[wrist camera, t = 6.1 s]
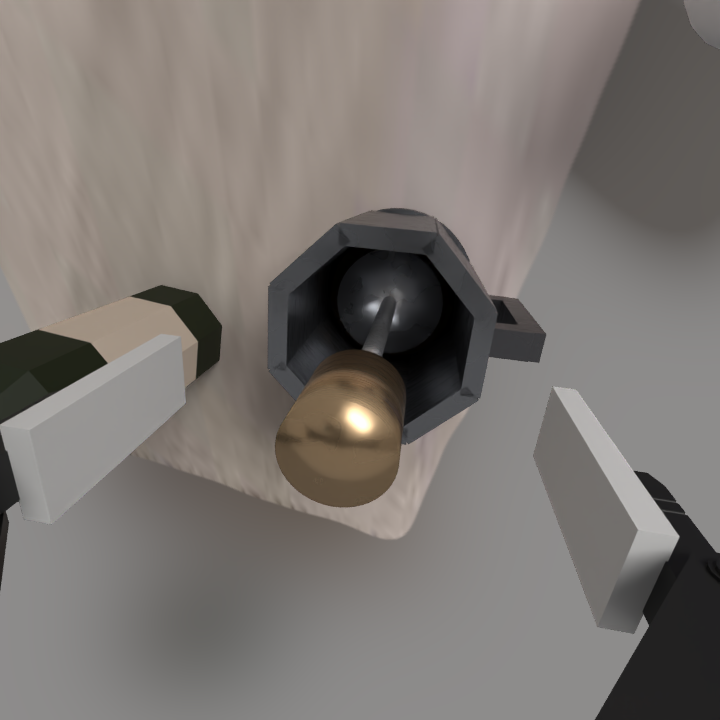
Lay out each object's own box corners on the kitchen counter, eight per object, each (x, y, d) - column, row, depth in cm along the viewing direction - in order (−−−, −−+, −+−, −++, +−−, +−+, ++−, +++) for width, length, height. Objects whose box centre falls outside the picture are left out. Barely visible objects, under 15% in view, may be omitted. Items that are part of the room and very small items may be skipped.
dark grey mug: (324, 200, 32) (262, 207, 20) (526, 220, 31) (589, 240, 19) (316, 349, 37) (261, 427, 25) (493, 372, 35) (527, 468, 23)
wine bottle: (154, 264, 36) (-757, 515, 8) (240, 322, 37) (-333, 730, 9) (118, 342, 39) (-630, 712, 11) (199, 394, 40) (-322, 861, 12)
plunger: (343, 242, 29) (214, 323, 12) (450, 254, 28) (483, 358, 11) (336, 342, 32) (222, 530, 14) (434, 355, 31) (440, 569, 14)
